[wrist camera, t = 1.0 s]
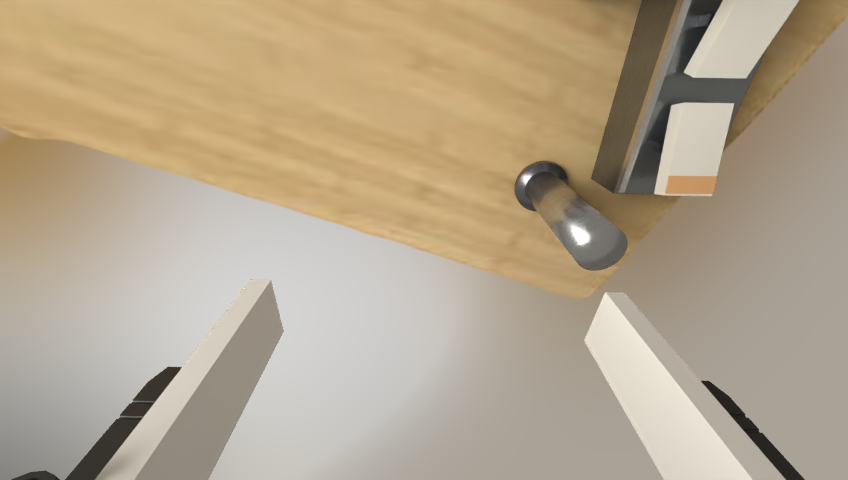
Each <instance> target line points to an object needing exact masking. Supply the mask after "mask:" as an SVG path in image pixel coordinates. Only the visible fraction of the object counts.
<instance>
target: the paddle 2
mask: <svg viewBox="0 0 848 480" xmlns="http://www.w3.org/2000/svg"><path fill="white" fill-rule="evenodd" d="M798 1H799V0H723V1H722V3H721V5H720V7H719V9H718V10H717V12H716V14H715V16H714V18H713V20H712V21H711V23H710V25H709V27H708V29H707V30H706V32H705V34H704V36H703V38H702V40H701V41H700V43H699V45H698V47H697V49H696V51H695V52H694V54H693V56H692V58H691V60H690V62H689V63H688V65H687V67H686V69H685V71H684V73H686V74H688V75H690V76H691V77H693V78H747V76H748V75H749V73H750V72H751V70H752V69H753V67H754V66H755V64H756V63H757V61H758V60H759V59H760V57H761V56H762V54H763V53H764V51H765V50H766V48H767V47H768V45H769V44H770V42H771V41H772V40H773V38H774V37H775V35H776V34H777V32H778V31H779V29H780V28H781V26H782V25H783V23H784V22H785V21H786V19H787V18H788V16H789V15H790V13H791V12H792V10H793V9H794V7H795V6H796V4H797V3H798Z"/></svg>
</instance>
